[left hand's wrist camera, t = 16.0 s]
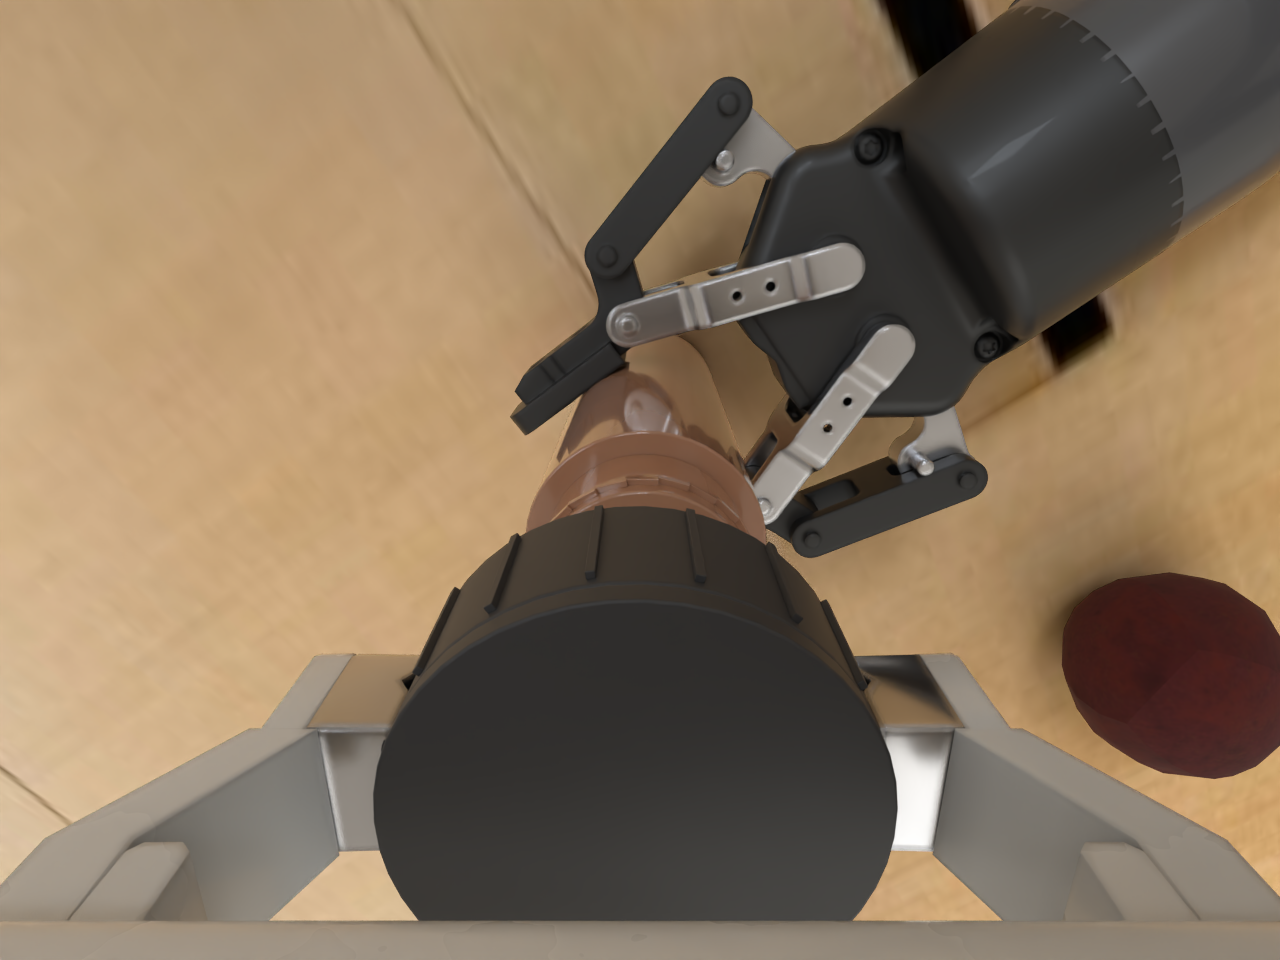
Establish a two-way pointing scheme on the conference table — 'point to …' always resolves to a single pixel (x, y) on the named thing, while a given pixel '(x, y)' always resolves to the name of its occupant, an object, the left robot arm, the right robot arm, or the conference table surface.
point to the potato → (1176, 673)
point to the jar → (650, 445)
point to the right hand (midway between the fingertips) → (581, 490)
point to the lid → (635, 737)
